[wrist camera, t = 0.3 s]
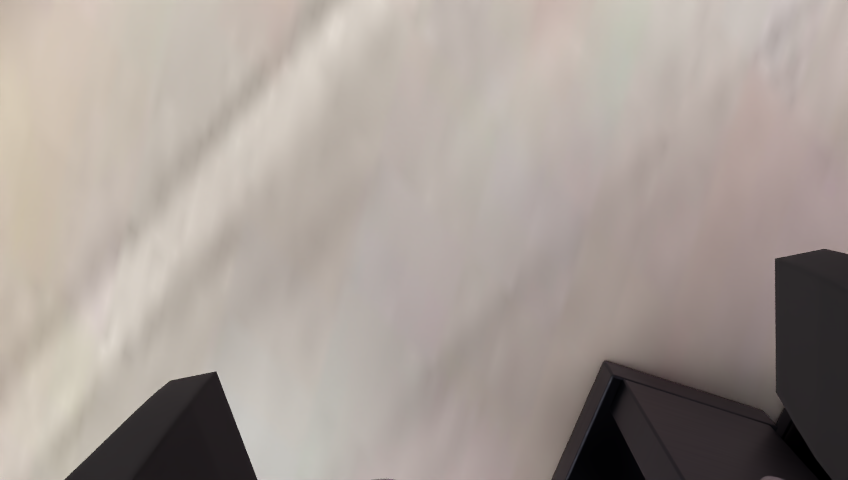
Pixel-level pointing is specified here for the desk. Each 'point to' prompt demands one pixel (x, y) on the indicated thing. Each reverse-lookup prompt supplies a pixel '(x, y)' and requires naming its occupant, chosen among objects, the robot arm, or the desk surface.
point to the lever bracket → (671, 435)
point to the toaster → (799, 445)
